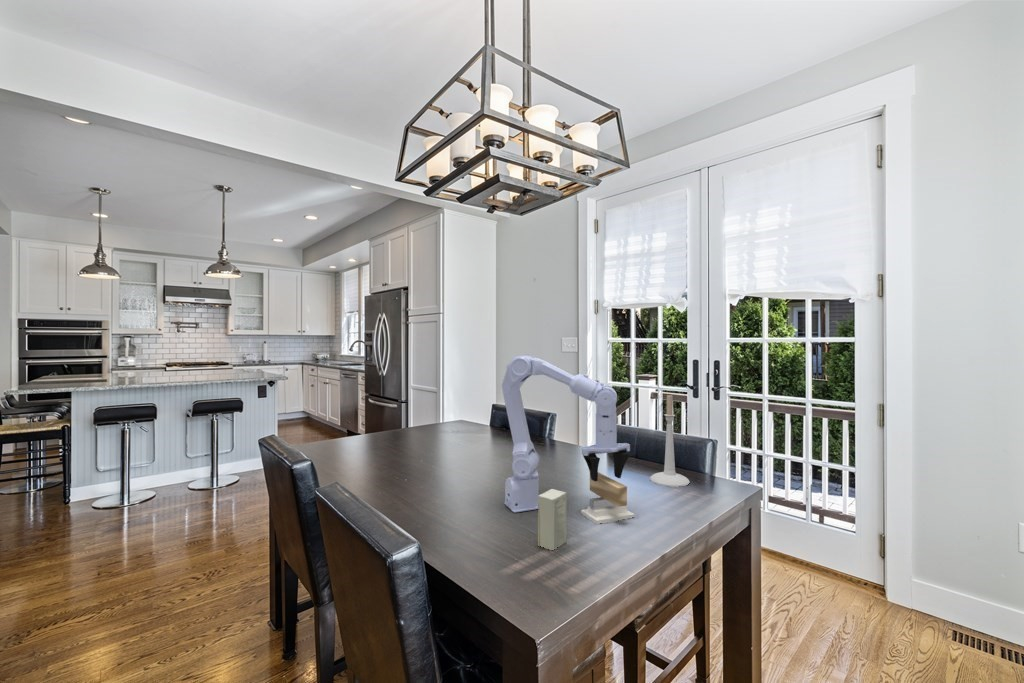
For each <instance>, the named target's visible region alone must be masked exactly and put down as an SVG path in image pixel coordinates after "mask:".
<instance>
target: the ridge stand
mask: <svg viewBox="0 0 1024 683" xmlns="http://www.w3.org/2000/svg"><path fill="white" fill-rule="evenodd" d="M581 513H582V514H583V515H582V514H581ZM580 514H581V515H582V516H584V517H585V516H586V517H585V518H587V519H588V518H589V519H590V520H589V519H588V520H589V521H591V520H592V521H593V523H594V524H595V525H600V523H602V524H606V523H607V522H608V523H614V522H619V521H623V520H622V519H625V520H628V519H627V518H631V519H633V518H632V517H634V518H635V513H633V512H631V511H629V510H628V505H627V506H622V507H617V506H615V505H614V504H612V503H610V502H609V501H607V500H605V499H603V498H602V497H600V496H598V497H593V498H589V506H587V508H586V509H581V510H580ZM618 520H619V521H618ZM592 521H591V522H592ZM613 521H614V522H613ZM608 523H607V524H608Z"/></svg>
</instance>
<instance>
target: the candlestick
mask: <svg viewBox="0 0 1024 683" xmlns="http://www.w3.org/2000/svg"><path fill="white" fill-rule="evenodd" d="M673 399H674V398H673V395H672V394H668V395H666V413H665V414H663V416H665V420H666V423H667V424H666V431H665V434H666V435H665V453H664V467H663V468H664V469H663V471H661V472H655V473H653V474H652V475H651V476H650V477H649V481H650V480H651V481H652V483H653V482H654V483H653V484H655V483H656V484H655V485H657V484H660V485H659V486H661V485H664V486H663V487H666V486H670V487H669V488H680V487H679V486H685V487H687V486H686V485H688V484H689V483H690V479H689V478H687V477H686V476H685V475H682V474H680V473H677V472H676V462H675V445H674V428H673V426H674V425H673V421H675V419H674V417H676V415H675V414H673V413H674V411H673V410H674V409H673V408H674V405H673V404H674V403H673V401H674V400H673ZM651 481H650V482H651ZM689 485H690V484H689ZM689 485H688V486H689Z"/></svg>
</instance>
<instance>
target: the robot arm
mask: <svg viewBox="0 0 1024 683" xmlns="http://www.w3.org/2000/svg"><path fill="white" fill-rule="evenodd" d="M504 373H505V374H504V376H503V380H502V382H501V390H502V394H503V399H504V403H505V408H506V410H505V411H506V415H507V419H508V424H509V428H510V433H511V439H512V442H513V447H512V459H513V460H512V464H511V468H512V469H511V470H512V472H513V476H510V477H507V478H506V479H505V483H504V503H503V504H504V505H505V506H506V507H507V508H508V509H509V510H511V512H513V513H520V512H527V511H534V510H535V511H536V510H538V495H540V494H539V491H540V490H539V489H540V488H539V486H540V485H539V484H540V483H539V472H538V469H537V468H538V466H540V461H541V460H540V459H541V458H540V455H539V454H538V452H537V451H536V449H535V446H534V443H533V441H532V440H531V435H530V432H529V431H530V430H529V427H528V421H527V417H526V412H525V408H524V402H523V398H522V393H521V388H522V386H523V385H524V383H525V382H526V380H527V379H529V378H530V377H531V376H540V375H541V376H542V375H543V376H546V377H548V378H551V379H552V380H554V381H557V382H560V383H562V384H564V385H566V386H568V387H569V389H570V391H571V393H572V394H575V395H577V396H579V397H581V398H583V399H585V400H587V401H590V402H594V403H595V405H596V412H595V444H593V445H588V446H583V447H581V455H582V457H583V459H584V460H585V463H586V465H587V468H588V471H589V476H590V475H591V480H593V481H597V480H598V472H599V464H600V462H601V461H600V460H601V458H600V457H598V454H599V455H600V454H608V453H609V454H610V453H611V454H612V458H613V470H614V471H613V475H614V477H615V478H617V479H621V478H622V476H623V475H622V474H623V470H624V468H625V464H626V462H627V461H628V460H629V458H630V453H629V452H630V451H631V444H629V443H627V442H624V443H623V442H622V443H620V442H619V443H617V438H618V437H617V435H618V434H617V433H618V432H617V431H618V427H617V424H618V422H617V421H618V420H617V419H618V415H617V414H618V413H617V406H616V405H617V401H618V395H617V392H616V390H615V389H614V388H612V387H611V385H605V383H604V382H602V381H601V382H599V381H596V380H593V379H592V378H590V377H589V376H590V375H589V374H587V373H584V374H581V373H579V374H576V375H574V374H571V373H569V372H567V371H565V370H563V369H561V368H559V367H557V366H555V365H554V364H552V363H550V362H548V361H546V360H544V359H541V358H538V357H535V356H533V355H530V354H524V355H517V356H514V357H513V358H512V359H511V360H510V362H508V364H507V365H506V371H505V372H504Z"/></svg>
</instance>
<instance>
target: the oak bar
mask: <svg viewBox="0 0 1024 683" xmlns="http://www.w3.org/2000/svg"><path fill="white" fill-rule="evenodd" d="M589 491H590V492H592V493H594V494H595V495H597V496H598V497H602V498H603V499H605V500H607V501H609V502H610V503H612V504H614V505H615V506H617V507H622V506H627V507H628V486H626V485H624V484H622V483H620V482H619V481H617V480H615V479H613V478H611V477H608V476H606V475H604V474H603V473H600V472H599V471H598V480H597V481H593V480H591V475H590V474H589Z"/></svg>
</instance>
